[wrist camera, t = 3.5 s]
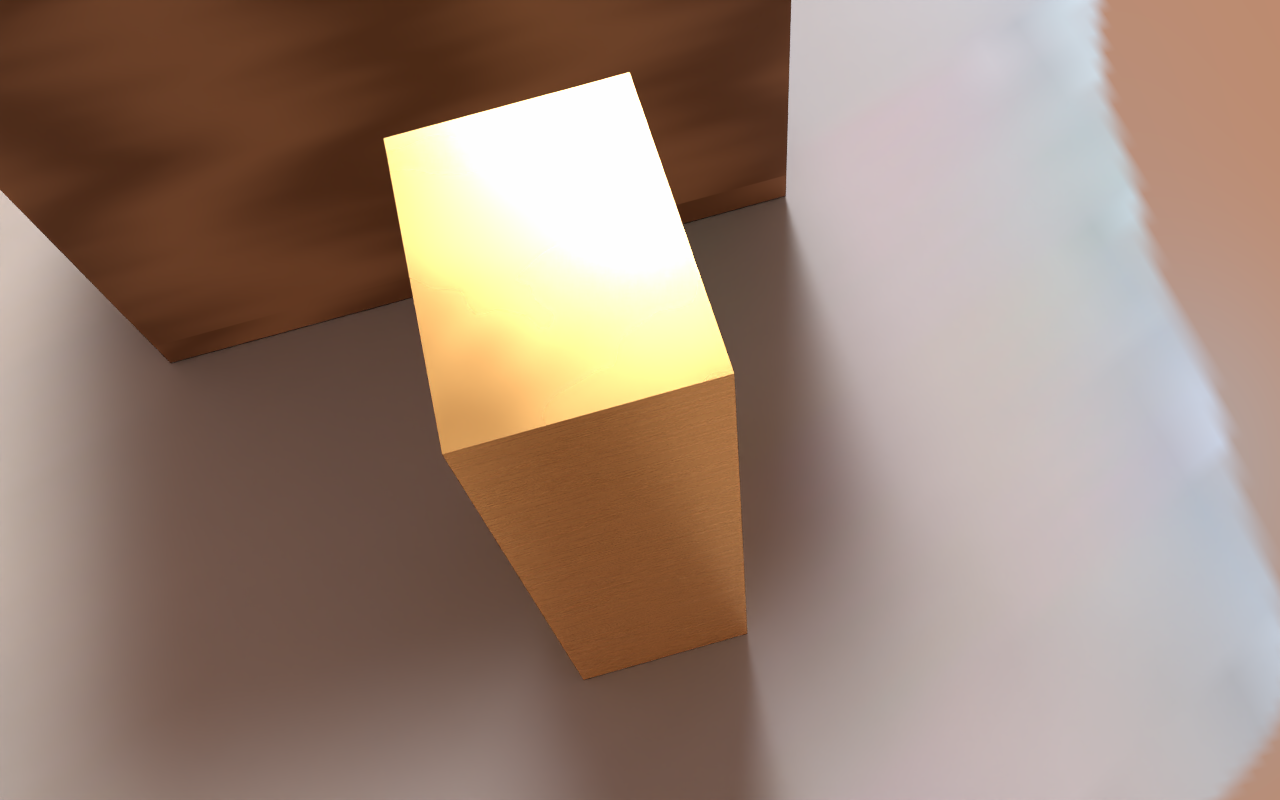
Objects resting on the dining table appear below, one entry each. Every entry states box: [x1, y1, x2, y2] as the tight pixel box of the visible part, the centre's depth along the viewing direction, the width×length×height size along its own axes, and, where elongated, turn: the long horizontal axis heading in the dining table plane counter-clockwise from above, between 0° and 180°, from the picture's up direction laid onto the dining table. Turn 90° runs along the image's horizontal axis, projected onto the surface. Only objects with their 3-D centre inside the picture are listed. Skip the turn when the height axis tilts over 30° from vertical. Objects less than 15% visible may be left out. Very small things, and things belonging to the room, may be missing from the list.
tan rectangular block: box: [384, 73, 747, 680], centre depth 18 cm, size 4×5×11 cm
